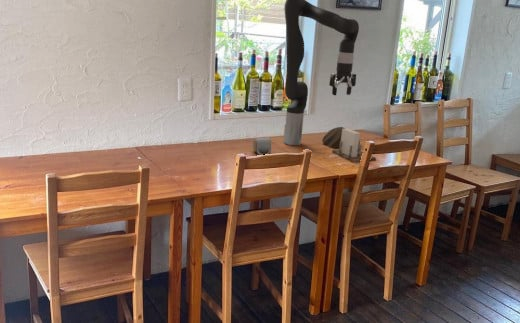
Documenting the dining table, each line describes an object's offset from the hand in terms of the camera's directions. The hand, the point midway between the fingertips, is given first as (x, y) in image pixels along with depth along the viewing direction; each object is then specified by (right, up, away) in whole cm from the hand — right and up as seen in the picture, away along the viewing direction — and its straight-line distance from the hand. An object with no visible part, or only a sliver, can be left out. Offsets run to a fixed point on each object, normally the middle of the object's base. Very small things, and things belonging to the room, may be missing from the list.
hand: (341, 94), depth 240 cm
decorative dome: (+3, -24, +26) cm, 36 cm away
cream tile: (+4, -29, +4) cm, 30 cm away
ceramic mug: (-39, -29, 0) cm, 49 cm away
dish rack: (+7, -30, +5) cm, 32 cm away
